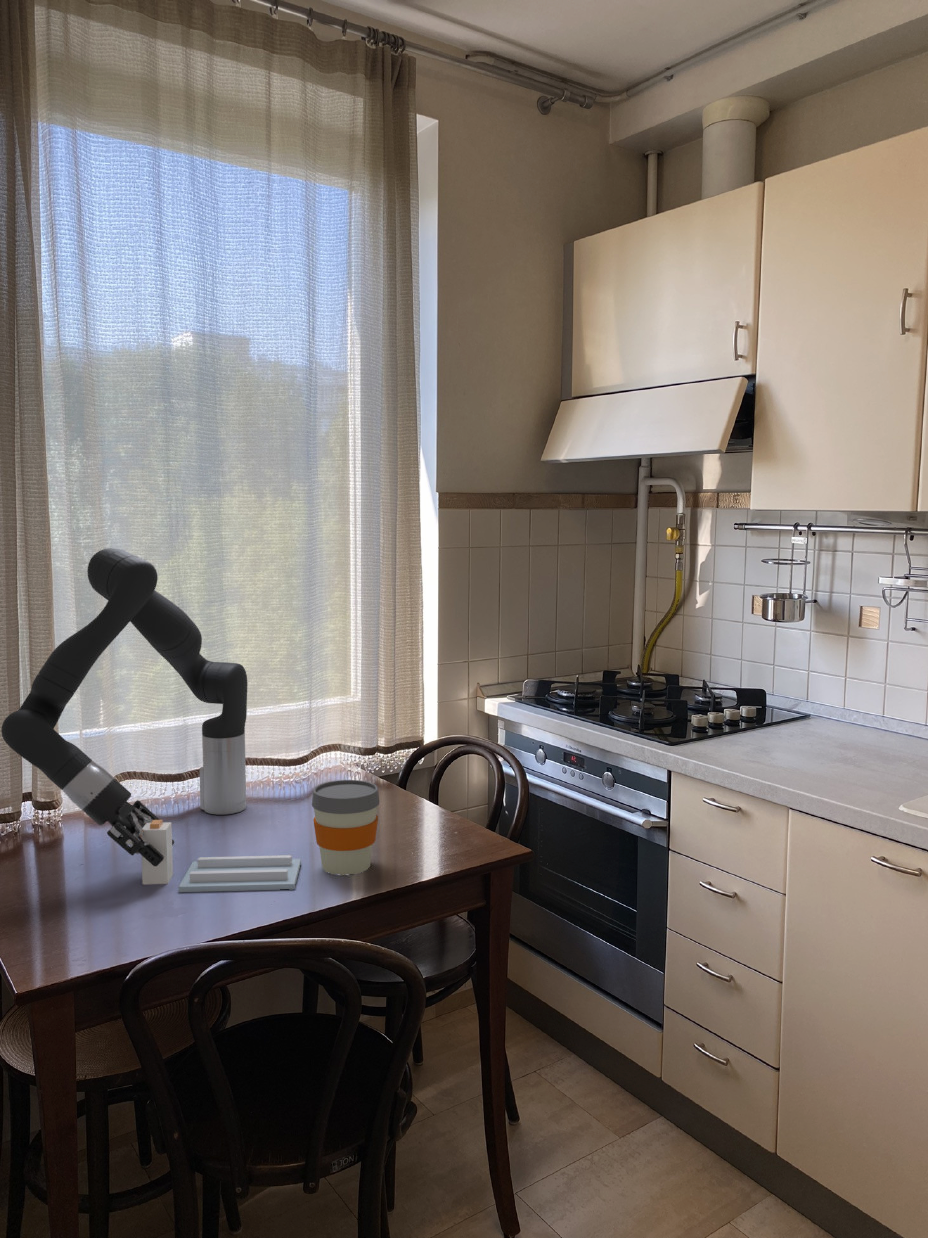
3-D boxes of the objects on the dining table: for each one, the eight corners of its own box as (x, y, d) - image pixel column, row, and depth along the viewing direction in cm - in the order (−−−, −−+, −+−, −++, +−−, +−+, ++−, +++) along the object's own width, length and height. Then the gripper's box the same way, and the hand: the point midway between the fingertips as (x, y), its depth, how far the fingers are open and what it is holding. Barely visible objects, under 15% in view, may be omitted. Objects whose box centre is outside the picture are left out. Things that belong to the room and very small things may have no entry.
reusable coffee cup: (391, 870, 171) (391, 792, 170) (329, 884, 165) (328, 803, 163) (361, 849, 182) (361, 775, 180) (302, 862, 175) (301, 785, 174)
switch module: (142, 884, 164) (140, 825, 163) (148, 875, 168) (146, 818, 167) (167, 883, 165) (166, 825, 163) (173, 875, 168) (171, 818, 167)
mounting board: (178, 892, 161) (178, 878, 161) (193, 866, 173) (192, 853, 172) (294, 889, 162) (294, 875, 162) (300, 863, 174) (300, 851, 174)
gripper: (99, 789, 157) (171, 854, 159) (123, 767, 171) (189, 826, 173) (68, 820, 157) (140, 884, 159) (95, 795, 171) (161, 854, 173)
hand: (165, 854), depth 166 cm, fingers open, 7 cm apart
